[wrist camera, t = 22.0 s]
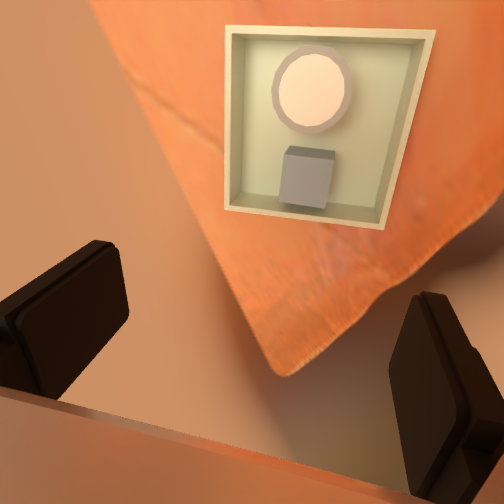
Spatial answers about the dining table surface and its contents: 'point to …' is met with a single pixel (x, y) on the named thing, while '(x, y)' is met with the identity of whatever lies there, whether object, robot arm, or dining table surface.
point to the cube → (306, 176)
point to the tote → (334, 138)
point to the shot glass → (311, 89)
